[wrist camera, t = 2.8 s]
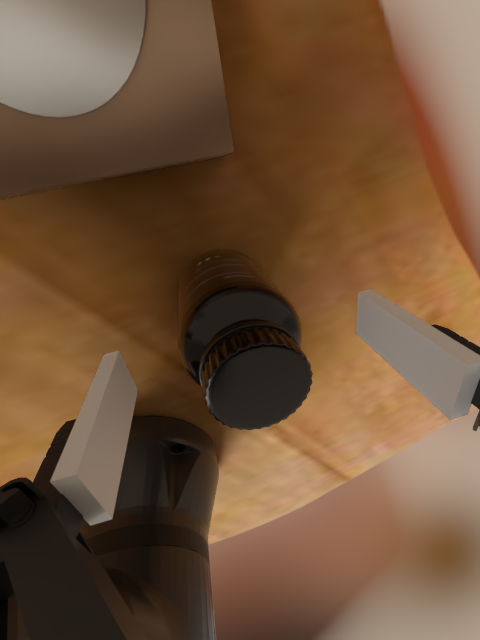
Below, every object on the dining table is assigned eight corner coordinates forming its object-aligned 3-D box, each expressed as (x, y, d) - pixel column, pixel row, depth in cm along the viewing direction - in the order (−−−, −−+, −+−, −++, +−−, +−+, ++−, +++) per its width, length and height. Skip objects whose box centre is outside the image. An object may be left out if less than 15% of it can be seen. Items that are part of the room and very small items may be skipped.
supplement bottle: (272, 308, 24) (346, 413, 13) (199, 338, 24) (216, 467, 13) (246, 232, 20) (319, 293, 10) (161, 268, 20) (144, 367, 10)
